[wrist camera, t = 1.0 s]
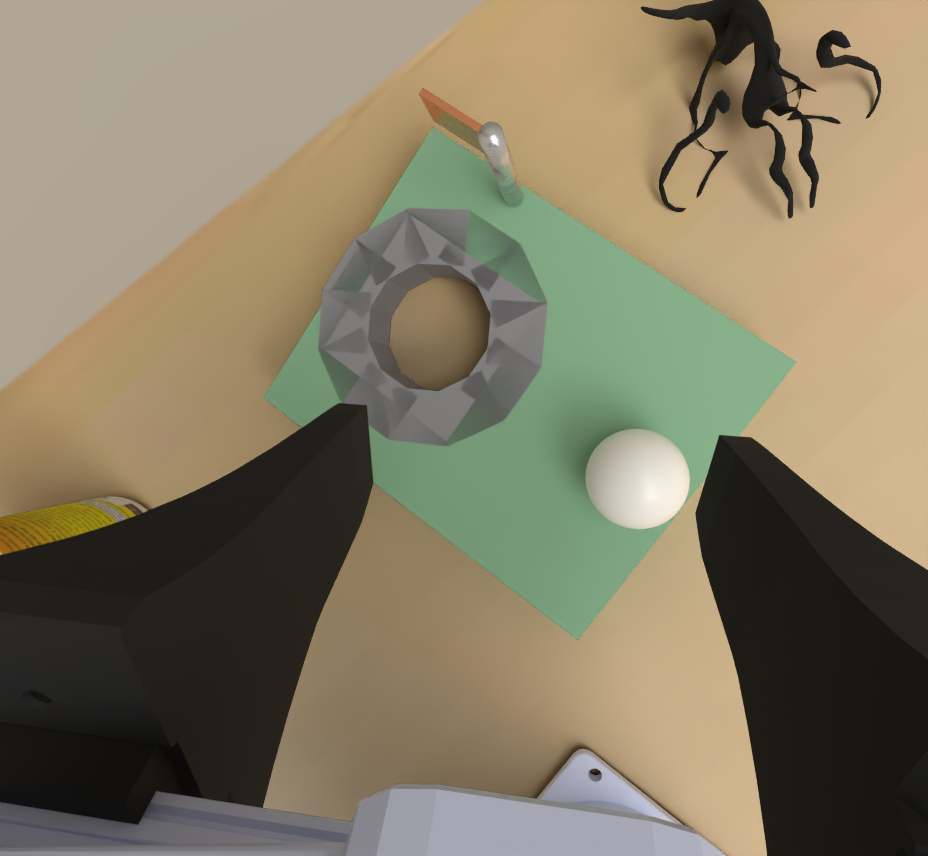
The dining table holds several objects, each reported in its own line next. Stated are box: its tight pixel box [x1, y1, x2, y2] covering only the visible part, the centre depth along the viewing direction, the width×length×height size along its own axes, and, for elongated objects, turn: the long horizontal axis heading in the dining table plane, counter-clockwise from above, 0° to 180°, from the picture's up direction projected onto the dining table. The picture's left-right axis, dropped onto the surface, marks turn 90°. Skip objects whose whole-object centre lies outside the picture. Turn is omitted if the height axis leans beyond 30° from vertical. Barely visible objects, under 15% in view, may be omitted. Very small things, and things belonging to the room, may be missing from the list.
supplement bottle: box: [0, 496, 148, 555], centre depth 23 cm, size 6×6×10 cm
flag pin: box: [419, 88, 524, 207], centre depth 19 cm, size 3×1×5 cm, turn 55°
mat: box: [264, 127, 797, 640], centre depth 22 cm, size 15×12×2 cm
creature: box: [641, 0, 881, 219], centre depth 19 cm, size 8×5×8 cm
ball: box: [585, 429, 690, 529], centre depth 19 cm, size 3×3×3 cm
